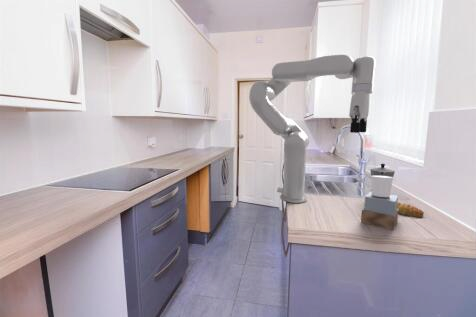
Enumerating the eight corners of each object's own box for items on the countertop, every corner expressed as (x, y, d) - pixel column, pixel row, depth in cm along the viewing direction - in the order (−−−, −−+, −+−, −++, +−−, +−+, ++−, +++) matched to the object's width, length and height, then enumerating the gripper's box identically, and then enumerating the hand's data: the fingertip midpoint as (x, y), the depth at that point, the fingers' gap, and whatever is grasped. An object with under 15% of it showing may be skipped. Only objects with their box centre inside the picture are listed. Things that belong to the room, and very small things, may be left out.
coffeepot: (391, 208, 101) (396, 166, 99) (366, 204, 106) (370, 164, 103) (391, 199, 114) (394, 162, 112) (368, 195, 119) (372, 160, 116)
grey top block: (364, 210, 86) (365, 196, 85) (369, 203, 92) (370, 191, 92) (393, 216, 80) (395, 201, 79) (396, 208, 87) (398, 195, 86)
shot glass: (374, 193, 90) (375, 174, 90) (395, 196, 85) (396, 176, 84) (366, 194, 86) (367, 175, 86) (387, 198, 80) (388, 177, 80)
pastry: (424, 215, 94) (425, 205, 94) (421, 219, 90) (422, 210, 89) (396, 209, 101) (397, 200, 100) (392, 213, 96) (393, 204, 96)
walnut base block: (360, 222, 86) (361, 209, 86) (367, 215, 94) (368, 203, 93) (393, 230, 80) (394, 216, 79) (397, 221, 88) (398, 208, 87)
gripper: (358, 92, 105) (355, 131, 107) (345, 88, 92) (341, 132, 94) (377, 91, 100) (373, 132, 102) (366, 86, 87) (362, 133, 89)
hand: (358, 132), depth 98 cm, fingers open, 9 cm apart
